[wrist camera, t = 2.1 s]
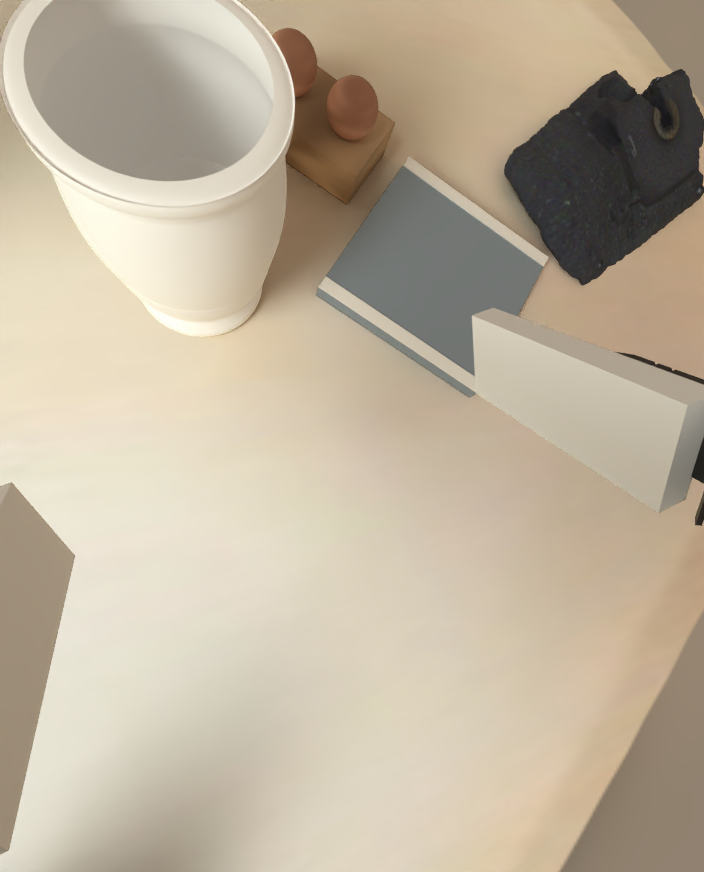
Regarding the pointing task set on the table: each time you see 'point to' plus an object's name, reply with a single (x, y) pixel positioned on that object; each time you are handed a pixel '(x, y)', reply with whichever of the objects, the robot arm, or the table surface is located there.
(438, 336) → the slate card
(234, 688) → the table surface
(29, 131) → the jar
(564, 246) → the dark flat piece
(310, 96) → the ball rack
